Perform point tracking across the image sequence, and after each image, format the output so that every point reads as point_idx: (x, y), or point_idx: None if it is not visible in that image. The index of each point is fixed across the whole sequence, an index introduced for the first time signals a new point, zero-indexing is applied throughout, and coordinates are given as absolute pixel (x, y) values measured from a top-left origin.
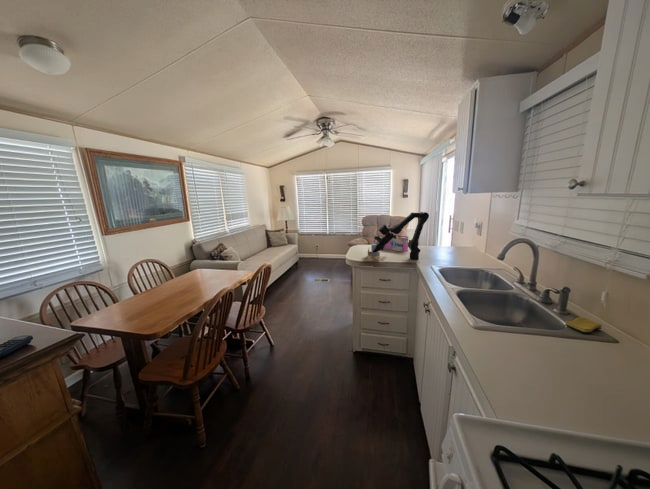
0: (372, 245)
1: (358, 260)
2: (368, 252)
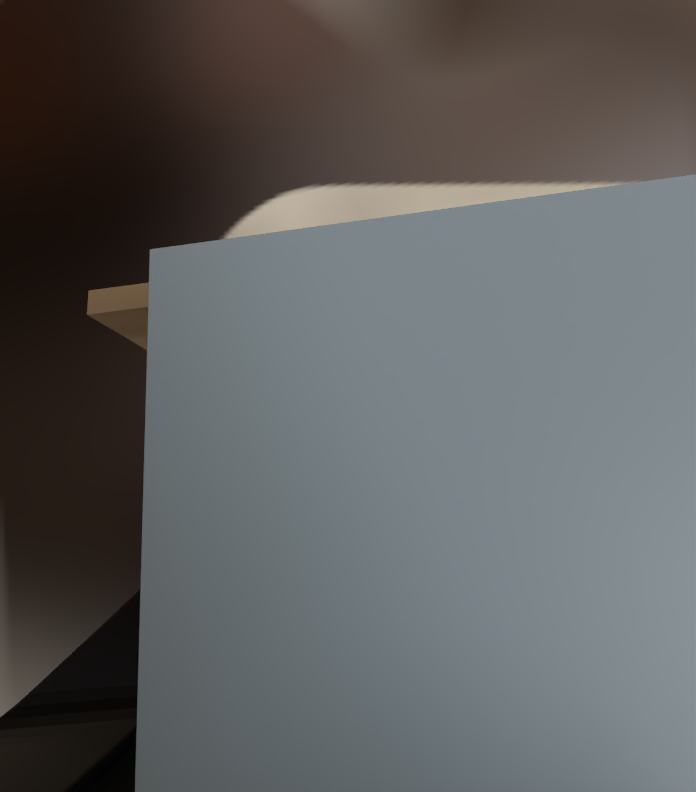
0: (162, 347)
1: (231, 234)
2: (114, 328)
